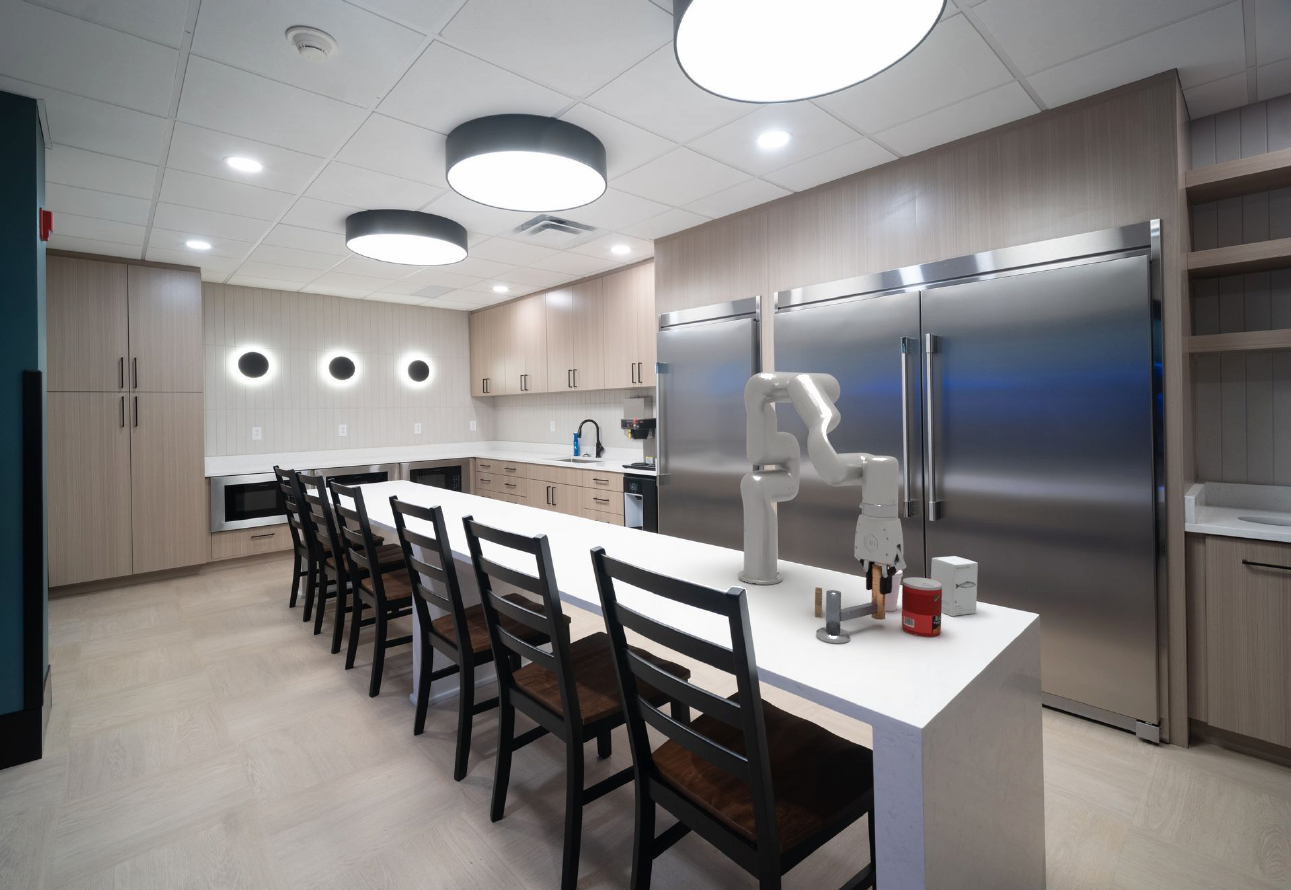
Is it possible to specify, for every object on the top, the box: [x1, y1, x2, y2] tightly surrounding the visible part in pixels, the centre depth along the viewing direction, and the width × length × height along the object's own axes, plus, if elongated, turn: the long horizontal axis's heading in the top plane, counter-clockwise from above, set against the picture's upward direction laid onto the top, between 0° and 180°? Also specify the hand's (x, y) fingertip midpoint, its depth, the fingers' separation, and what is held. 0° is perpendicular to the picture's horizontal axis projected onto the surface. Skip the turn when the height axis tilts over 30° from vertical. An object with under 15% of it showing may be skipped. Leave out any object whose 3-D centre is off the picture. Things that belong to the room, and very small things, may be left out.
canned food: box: [901, 576, 942, 638], centre depth 132 cm, size 8×8×11 cm
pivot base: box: [815, 626, 851, 645], centre depth 128 cm, size 7×7×1 cm
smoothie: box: [886, 566, 904, 612], centre depth 146 cm, size 6×6×14 cm
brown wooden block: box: [814, 586, 823, 619], centre depth 142 cm, size 4×2×6 cm, turn 163°
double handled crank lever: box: [825, 563, 887, 634], centre depth 131 cm, size 17×3×13 cm, turn 118°
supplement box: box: [930, 555, 979, 617], centre depth 144 cm, size 7×7×13 cm
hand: (878, 590), depth 134 cm, fingers closed on double handled crank lever, 3 cm apart
